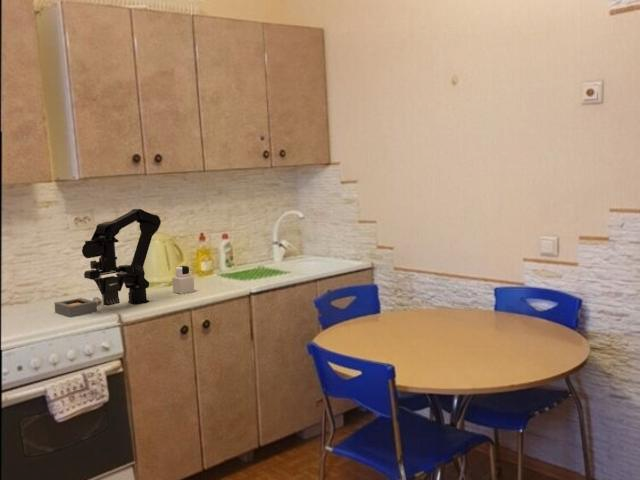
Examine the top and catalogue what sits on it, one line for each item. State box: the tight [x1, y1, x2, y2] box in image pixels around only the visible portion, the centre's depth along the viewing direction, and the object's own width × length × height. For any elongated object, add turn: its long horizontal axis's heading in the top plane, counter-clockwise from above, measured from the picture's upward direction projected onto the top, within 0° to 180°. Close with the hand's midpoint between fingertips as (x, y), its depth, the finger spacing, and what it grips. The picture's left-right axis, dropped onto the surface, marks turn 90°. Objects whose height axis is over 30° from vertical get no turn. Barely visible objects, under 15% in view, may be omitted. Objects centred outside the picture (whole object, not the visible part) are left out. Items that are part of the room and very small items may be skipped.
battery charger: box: [101, 275, 121, 307], centre depth 247 cm, size 7×4×11 cm, turn 142°
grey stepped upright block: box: [171, 265, 195, 295], centre depth 279 cm, size 7×7×12 cm
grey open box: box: [53, 297, 98, 318], centre depth 246 cm, size 11×14×4 cm
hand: (111, 292), depth 247 cm, fingers closed on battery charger, 7 cm apart
